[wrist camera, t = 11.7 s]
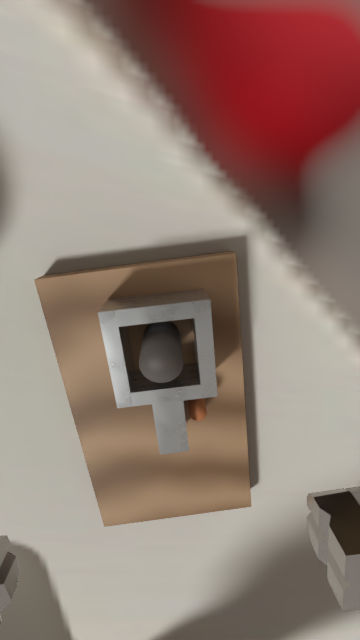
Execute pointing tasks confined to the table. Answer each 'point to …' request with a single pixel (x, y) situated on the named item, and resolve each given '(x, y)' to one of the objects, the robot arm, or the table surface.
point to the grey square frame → (131, 382)
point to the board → (135, 426)
